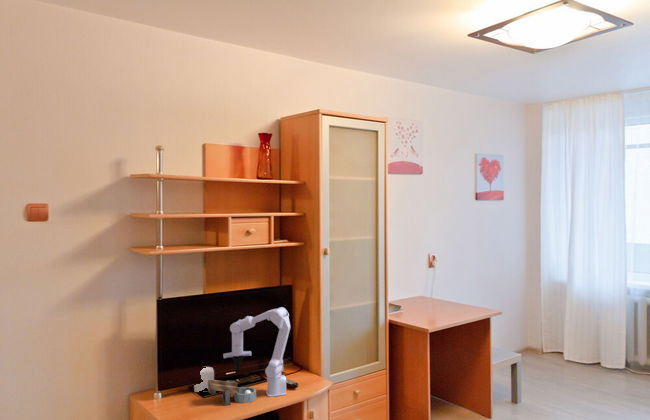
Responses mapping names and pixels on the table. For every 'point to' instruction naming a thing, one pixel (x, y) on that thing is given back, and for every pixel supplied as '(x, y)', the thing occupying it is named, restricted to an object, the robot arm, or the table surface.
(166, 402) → the table surface
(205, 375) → the white upright shaped piece
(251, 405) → the table surface
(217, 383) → the tipping ramp
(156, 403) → the table surface
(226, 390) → the lever stand
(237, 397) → the blue-grey round bin
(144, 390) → the table surface
